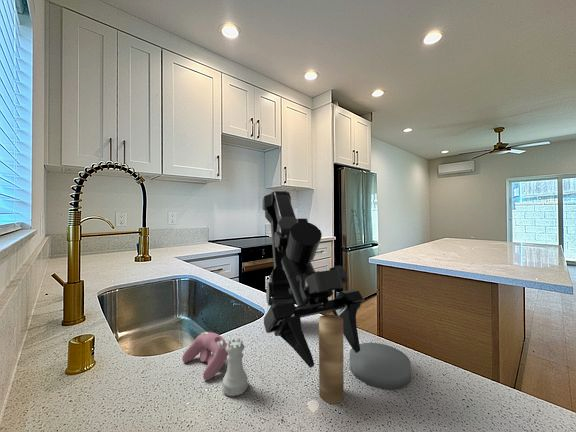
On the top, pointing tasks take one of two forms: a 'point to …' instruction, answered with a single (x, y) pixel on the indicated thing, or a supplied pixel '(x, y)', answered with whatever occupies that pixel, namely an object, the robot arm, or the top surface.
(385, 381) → the grey plinth
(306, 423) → the top surface
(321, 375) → the teak pillar
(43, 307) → the top surface
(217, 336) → the video game controller
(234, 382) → the rook chess piece
